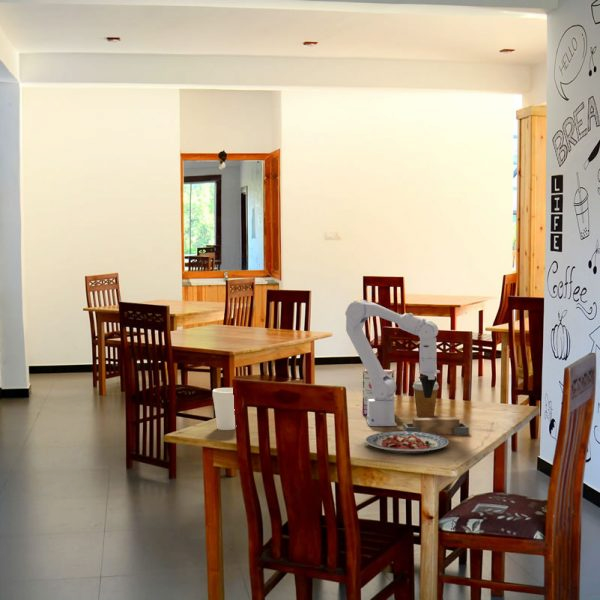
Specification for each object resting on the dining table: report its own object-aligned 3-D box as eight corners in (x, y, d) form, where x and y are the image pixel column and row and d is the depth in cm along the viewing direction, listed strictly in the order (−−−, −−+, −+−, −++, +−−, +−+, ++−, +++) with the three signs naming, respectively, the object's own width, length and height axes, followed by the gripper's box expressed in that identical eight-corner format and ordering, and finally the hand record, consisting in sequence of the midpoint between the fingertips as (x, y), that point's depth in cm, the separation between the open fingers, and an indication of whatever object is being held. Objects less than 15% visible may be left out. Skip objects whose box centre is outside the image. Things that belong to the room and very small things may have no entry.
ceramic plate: (354, 453, 280) (354, 443, 279) (377, 435, 304) (377, 426, 303) (439, 460, 271) (439, 450, 270) (455, 441, 295) (455, 432, 294)
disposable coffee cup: (437, 413, 340) (438, 380, 339) (439, 418, 330) (439, 385, 329) (411, 412, 341) (412, 380, 340) (412, 417, 331) (412, 384, 330)
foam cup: (215, 424, 318) (215, 387, 317) (242, 425, 318) (241, 388, 317) (211, 430, 309) (210, 392, 308) (238, 431, 308) (238, 392, 307)
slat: (414, 435, 304) (414, 420, 304) (412, 432, 307) (412, 418, 307) (459, 434, 305) (459, 419, 305) (456, 432, 309) (456, 417, 308)
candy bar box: (362, 415, 335) (362, 370, 334) (363, 412, 340) (364, 368, 339) (393, 416, 333) (393, 371, 332) (394, 413, 338) (394, 369, 337)
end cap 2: (454, 435, 303) (454, 427, 303) (449, 430, 310) (450, 423, 310) (468, 435, 303) (468, 427, 303) (464, 430, 310) (464, 422, 310)
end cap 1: (406, 435, 303) (406, 427, 302) (403, 430, 310) (403, 423, 310) (420, 435, 303) (421, 427, 302) (417, 430, 310) (417, 423, 310)
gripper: (443, 360, 305) (443, 401, 306) (435, 354, 320) (435, 393, 321) (422, 360, 305) (422, 401, 306) (415, 355, 320) (415, 393, 321)
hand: (427, 397), depth 314 cm, fingers closed
